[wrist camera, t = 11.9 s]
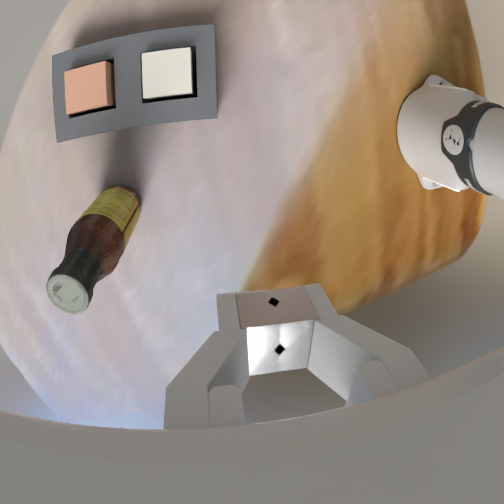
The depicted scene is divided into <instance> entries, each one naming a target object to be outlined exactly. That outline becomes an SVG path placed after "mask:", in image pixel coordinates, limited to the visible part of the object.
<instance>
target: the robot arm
mask: <svg viewBox="0 0 504 504" xmlns="http://www.w3.org/2000/svg"><path fill="white" fill-rule="evenodd" d="M397 135H398V142H399V146H400V150H401V152H402V155H403V157H404V159H405V160H406V162H407V163H408V164H409V166H410V167H411V168H412V169H413V170H414V171H415V172H416V173H417V175H418V178H419V180H420V183H421V185H422V187H423V188H425V189H428V190H431V189H435V188H439V187H446V188H449V189H451V190H454V191H457V192H459V191H460V190H464V189H467V188H472V189H473V190H475V191H477V192H479V193H484V194H486V195H495V196H497V197H498V198H501V199H503V200H504V108H503V107H502V106H500V105H498V104H495V103H493V102H489V101H487V99H486V98H485V97H483V96H481V95H477V94H476V93H475V92H473V91H471V90H468V89H465V88H459V87H456V86H454V85H453V84H451V83H449V82H448V81H446V80H444V79H443V78H441V77H439V76H437V75H430V76H429V77H428V78H427V79H426V81H425V83H424V84H423V86H422V87H420V88H419V89H417V90H416V91H414V92H413V93H411V94H410V95H409V96H408V97H407V99H406V100H405V102H404V103H403V105H402V108H401V110H400V113H399V117H398V124H397ZM217 310H218V323H219V331H215V332H213V333H212V334H211V336H210V337H209V338H208V339H207V340H206V342H205V343H204V344H203V345H202V346H201V348H200V349H199V350H198V351H197V352H196V353H195V355H194V356H193V357H192V358H191V359H190V360H189V362H188V363H187V364H186V365H185V366H184V368H183V369H182V370H181V371H180V372H179V373H178V375H177V376H176V377H175V378H174V379H173V380H172V382H171V383H170V384H169V385H168V386H167V387H166V399H165V415H164V429H163V430H161V429H156V430H155V429H123V428H108V427H96V426H87V425H78V424H70V423H63V422H57V421H51V420H45V419H39V418H34V417H29V416H25V415H20V414H16V413H12V412H7V411H3V410H0V504H504V346H503V347H501V348H499V349H497V350H495V351H493V352H491V353H489V354H487V355H485V356H483V357H481V358H479V359H477V360H475V361H473V362H471V363H469V364H467V365H464V366H462V367H460V368H458V369H455V370H453V371H450V372H448V373H446V374H443V375H441V376H439V377H436V378H434V379H430V377H429V376H428V374H427V373H426V371H425V370H424V368H423V367H422V365H421V364H420V362H419V361H418V359H417V358H416V357H415V355H414V354H413V353H412V351H411V349H409V348H407V347H405V346H403V345H401V344H399V343H397V342H395V341H393V340H391V339H389V338H387V337H385V336H383V335H381V334H379V333H377V332H375V331H373V330H371V329H369V328H367V327H365V326H363V325H361V324H359V323H357V322H355V321H353V320H351V319H349V318H347V317H345V316H344V315H342V316H338V314H337V312H336V311H335V309H334V307H333V306H332V304H331V302H330V301H329V299H328V297H327V295H326V294H325V292H324V290H323V289H322V287H321V285H320V284H318V283H316V284H310V285H303V286H299V287H291V288H283V289H275V290H260V291H248V292H235V293H223V294H217ZM301 368H308V369H309V370H310V371H311V372H312V373H313V374H314V375H316V376H317V377H318V378H319V379H320V380H322V381H323V382H324V383H325V384H327V385H328V386H329V387H330V388H331V389H333V390H334V391H335V392H336V393H338V394H339V395H340V396H341V397H343V398H344V399H345V400H346V401H347V402H346V404H345V407H342V408H338V409H334V410H329V411H325V412H320V413H315V414H311V415H306V416H300V417H296V418H289V419H284V420H277V421H270V422H264V423H256V424H247V425H246V423H245V417H244V411H243V406H242V400H241V393H242V391H243V389H244V387H245V385H246V383H247V381H248V379H249V376H252V375H259V374H265V373H272V372H277V371H286V370H293V369H301Z"/></svg>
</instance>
